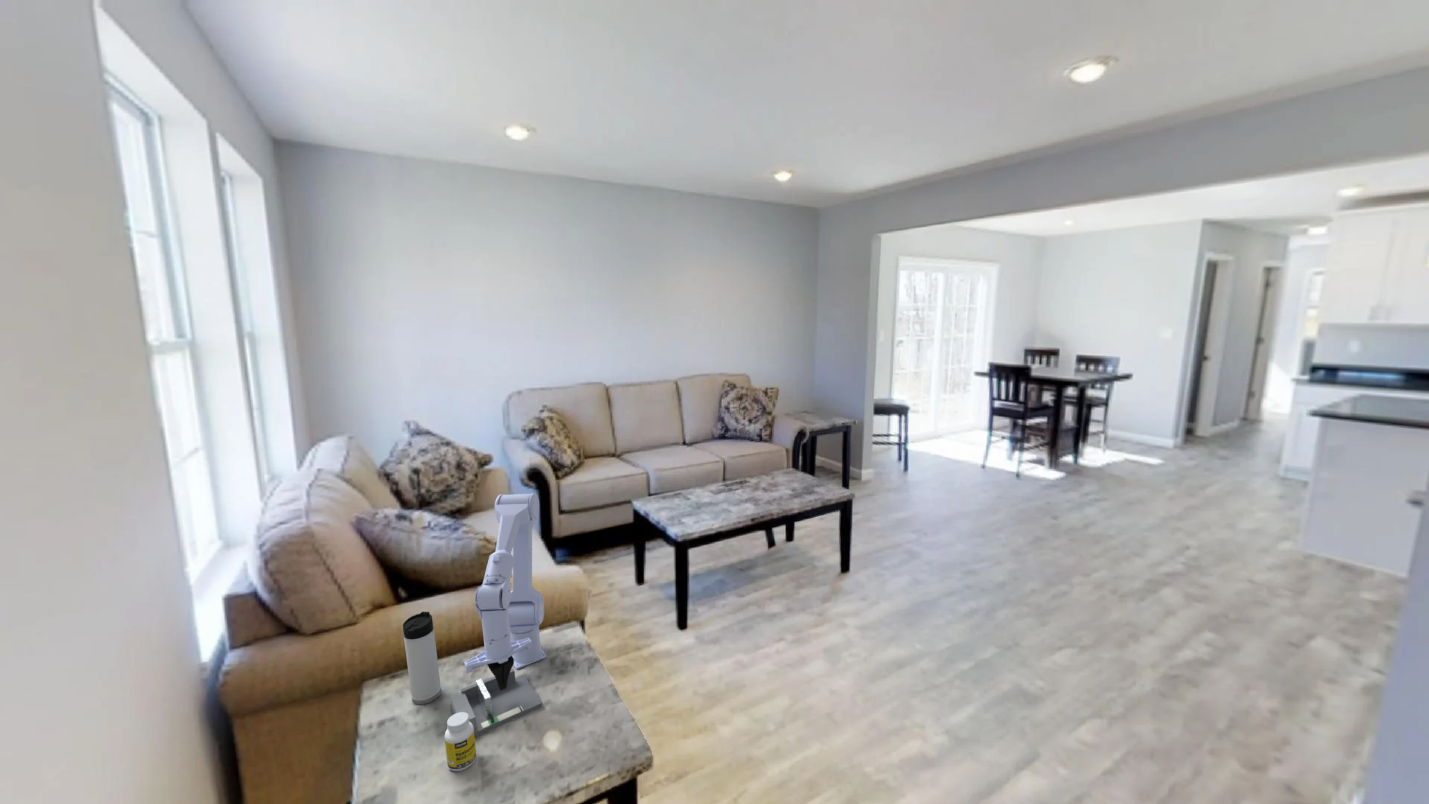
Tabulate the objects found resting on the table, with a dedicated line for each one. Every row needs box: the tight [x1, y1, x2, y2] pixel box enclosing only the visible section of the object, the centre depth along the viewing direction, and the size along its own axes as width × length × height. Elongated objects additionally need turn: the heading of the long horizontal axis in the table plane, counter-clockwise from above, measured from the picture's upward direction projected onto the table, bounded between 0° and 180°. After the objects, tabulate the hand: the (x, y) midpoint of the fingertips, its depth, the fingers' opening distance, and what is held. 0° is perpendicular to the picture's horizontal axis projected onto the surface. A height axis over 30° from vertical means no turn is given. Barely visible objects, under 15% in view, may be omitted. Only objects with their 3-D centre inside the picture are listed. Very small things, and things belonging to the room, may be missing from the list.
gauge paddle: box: [475, 678, 494, 723], centre depth 125 cm, size 11×1×5 cm, turn 37°
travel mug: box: [402, 611, 442, 705], centre depth 132 cm, size 6×7×20 cm
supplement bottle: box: [444, 712, 477, 772], centre depth 112 cm, size 5×5×10 cm
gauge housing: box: [449, 668, 543, 738], centre depth 128 cm, size 13×17×4 cm
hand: (502, 687), depth 129 cm, fingers closed
